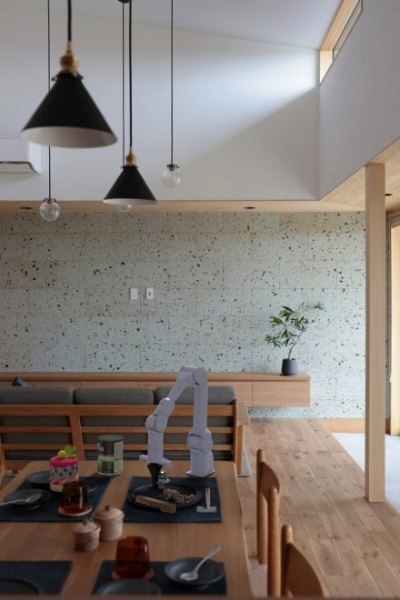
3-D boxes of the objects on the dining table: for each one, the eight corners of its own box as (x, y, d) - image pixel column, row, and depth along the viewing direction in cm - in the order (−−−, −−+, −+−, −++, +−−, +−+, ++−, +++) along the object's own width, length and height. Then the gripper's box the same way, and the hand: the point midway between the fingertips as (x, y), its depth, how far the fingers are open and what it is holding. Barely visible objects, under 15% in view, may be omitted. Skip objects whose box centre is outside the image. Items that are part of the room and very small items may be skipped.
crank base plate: (159, 477, 259) (159, 476, 259) (172, 480, 256) (172, 479, 256) (149, 481, 254) (149, 480, 254) (162, 484, 251) (162, 483, 251)
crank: (155, 477, 257) (155, 466, 257) (166, 477, 257) (166, 466, 257) (155, 489, 243) (155, 478, 243) (167, 488, 243) (167, 477, 243)
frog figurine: (155, 504, 231) (155, 493, 230) (168, 493, 242) (168, 483, 242) (186, 508, 227) (186, 497, 227) (198, 497, 238) (198, 487, 238)
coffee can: (101, 476, 260) (101, 441, 259) (94, 469, 269) (94, 435, 269) (126, 473, 264) (126, 438, 264) (118, 467, 273) (118, 433, 273)
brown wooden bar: (139, 502, 231) (139, 495, 231) (175, 512, 222) (175, 504, 222) (135, 503, 229) (135, 496, 229) (171, 513, 220) (171, 506, 220)
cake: (71, 493, 240) (71, 452, 240) (44, 491, 242) (44, 450, 242) (82, 484, 250) (82, 445, 250) (56, 482, 253) (56, 443, 252)
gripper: (134, 445, 250) (133, 481, 251) (163, 452, 241) (162, 489, 242) (146, 442, 256) (146, 477, 256) (175, 448, 247) (175, 484, 248)
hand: (155, 482), depth 250 cm, fingers closed, pressing on crank
